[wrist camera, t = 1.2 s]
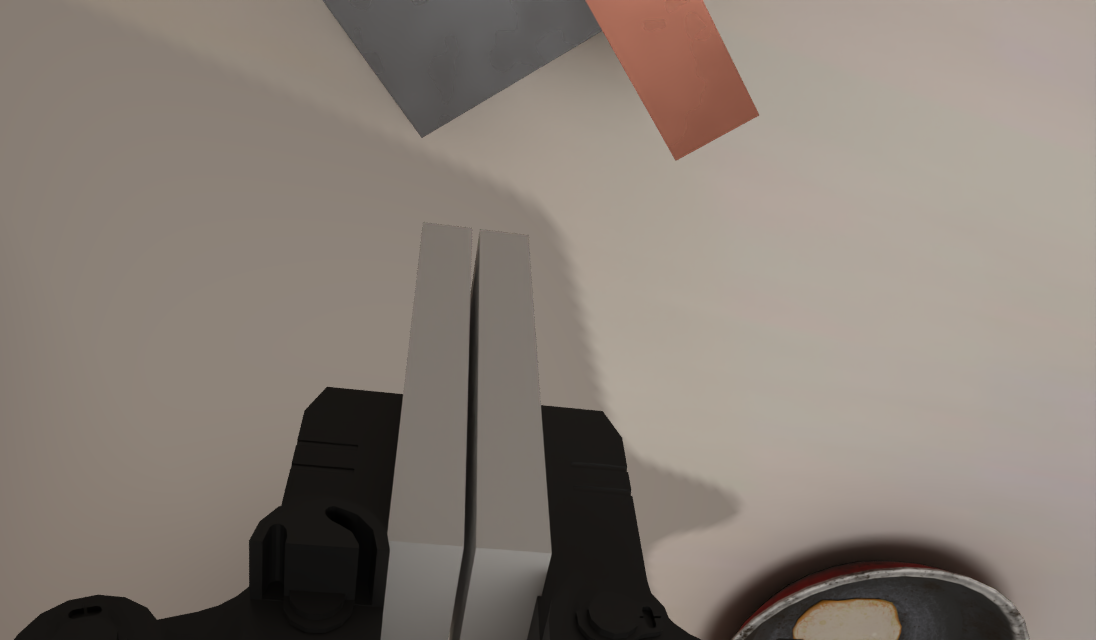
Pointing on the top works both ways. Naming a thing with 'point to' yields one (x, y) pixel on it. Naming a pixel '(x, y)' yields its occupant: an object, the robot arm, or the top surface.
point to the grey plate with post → (458, 47)
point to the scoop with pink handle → (677, 68)
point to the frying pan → (886, 607)
